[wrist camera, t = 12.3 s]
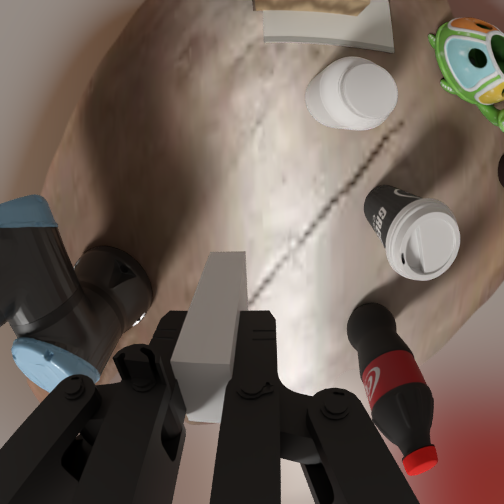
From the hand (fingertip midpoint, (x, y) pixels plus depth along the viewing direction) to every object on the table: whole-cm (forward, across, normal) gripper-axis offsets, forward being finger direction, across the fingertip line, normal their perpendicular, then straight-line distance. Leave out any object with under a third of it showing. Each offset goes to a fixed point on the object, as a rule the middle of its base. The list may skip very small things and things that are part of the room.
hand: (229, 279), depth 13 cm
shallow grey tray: (+29, +11, +26) cm, 41 cm away
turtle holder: (+30, +33, +18) cm, 48 cm away
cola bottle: (+30, +19, -25) cm, 43 cm away
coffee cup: (+30, +19, -5) cm, 36 cm away
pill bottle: (+30, +11, +10) cm, 33 cm away
